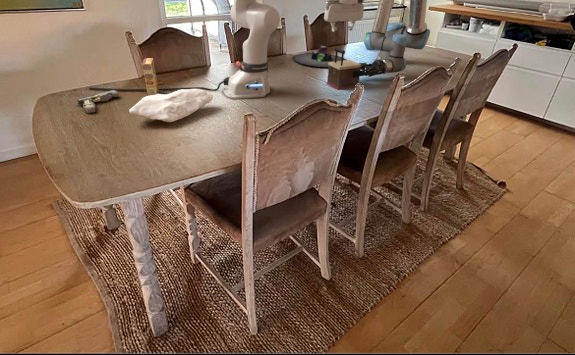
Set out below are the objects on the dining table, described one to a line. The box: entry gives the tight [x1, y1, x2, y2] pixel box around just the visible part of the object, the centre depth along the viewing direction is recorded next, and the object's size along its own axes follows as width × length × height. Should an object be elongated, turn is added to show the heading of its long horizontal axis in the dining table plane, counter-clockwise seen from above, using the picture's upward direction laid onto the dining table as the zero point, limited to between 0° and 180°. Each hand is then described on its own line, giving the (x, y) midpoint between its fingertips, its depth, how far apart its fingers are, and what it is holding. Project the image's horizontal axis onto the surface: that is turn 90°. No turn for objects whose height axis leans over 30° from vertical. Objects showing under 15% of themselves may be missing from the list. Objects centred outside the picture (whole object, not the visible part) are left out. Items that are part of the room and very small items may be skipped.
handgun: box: [76, 90, 120, 114], centre depth 155 cm, size 3×18×15 cm
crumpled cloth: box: [129, 89, 214, 123], centre depth 147 cm, size 24×35×9 cm
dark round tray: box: [291, 45, 347, 68], centre depth 225 cm, size 35×35×9 cm
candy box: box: [141, 57, 160, 96], centre depth 163 cm, size 9×4×15 cm, turn 13°
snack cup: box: [363, 31, 372, 50], centre depth 257 cm, size 16×10×10 cm
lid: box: [328, 47, 361, 70], centre depth 181 cm, size 13×10×9 cm
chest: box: [326, 65, 361, 90], centre depth 186 cm, size 13×10×10 cm
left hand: (342, 30), depth 173 cm, fingers open, 8 cm apart
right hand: (347, 71), depth 186 cm, fingers closed on chest, 10 cm apart
